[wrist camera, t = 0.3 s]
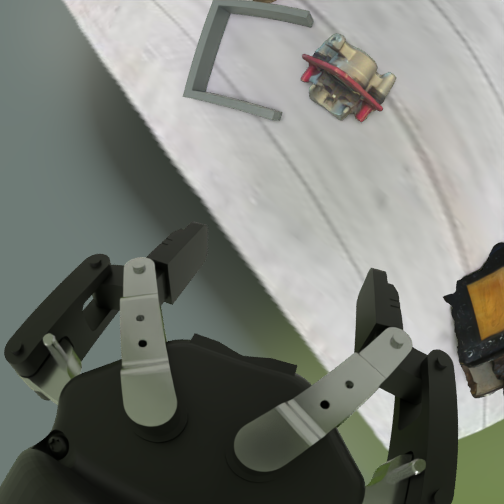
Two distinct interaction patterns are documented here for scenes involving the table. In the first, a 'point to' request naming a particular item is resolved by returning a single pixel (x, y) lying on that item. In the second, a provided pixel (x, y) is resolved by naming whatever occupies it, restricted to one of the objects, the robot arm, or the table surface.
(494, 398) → the table surface
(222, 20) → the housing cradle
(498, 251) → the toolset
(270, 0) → the tan rounded lump
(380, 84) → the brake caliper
